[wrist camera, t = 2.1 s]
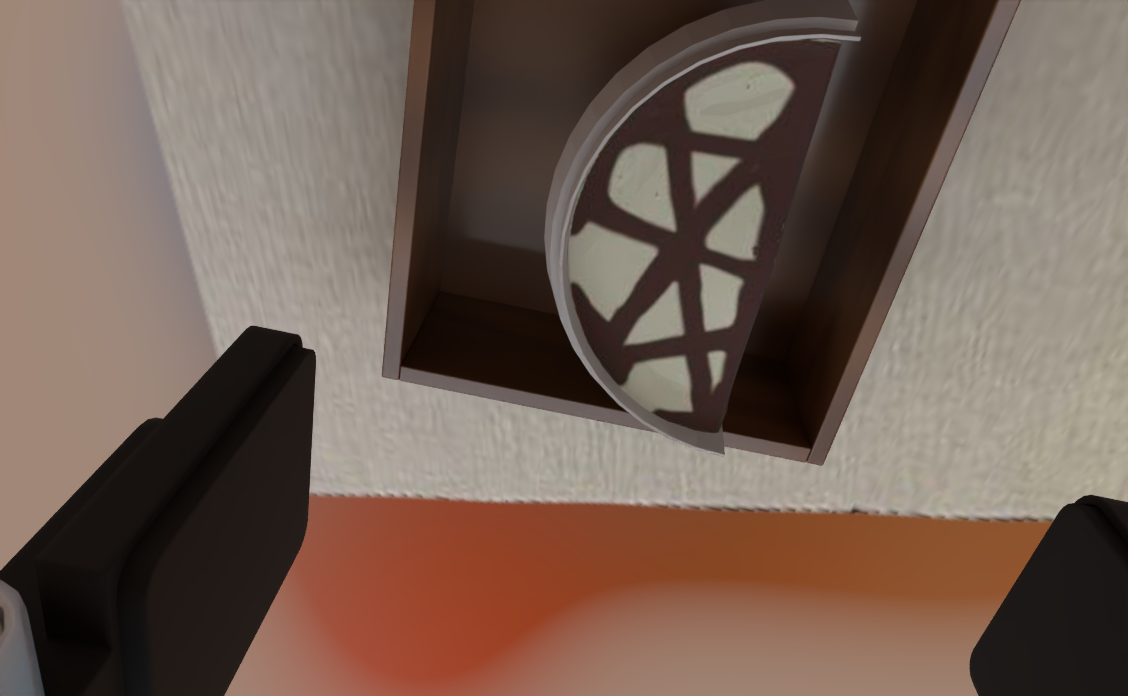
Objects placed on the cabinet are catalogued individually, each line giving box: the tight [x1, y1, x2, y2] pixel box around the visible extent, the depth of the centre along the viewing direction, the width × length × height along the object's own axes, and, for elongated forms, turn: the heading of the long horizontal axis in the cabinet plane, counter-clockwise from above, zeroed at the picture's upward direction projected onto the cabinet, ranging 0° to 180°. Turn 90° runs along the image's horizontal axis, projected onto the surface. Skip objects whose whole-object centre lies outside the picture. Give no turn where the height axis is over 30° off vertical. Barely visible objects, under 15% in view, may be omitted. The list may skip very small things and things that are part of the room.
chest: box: [382, 0, 1021, 465], centre depth 26 cm, size 16×15×7 cm
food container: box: [544, 0, 861, 457], centre depth 24 cm, size 12×6×10 cm, turn 170°
